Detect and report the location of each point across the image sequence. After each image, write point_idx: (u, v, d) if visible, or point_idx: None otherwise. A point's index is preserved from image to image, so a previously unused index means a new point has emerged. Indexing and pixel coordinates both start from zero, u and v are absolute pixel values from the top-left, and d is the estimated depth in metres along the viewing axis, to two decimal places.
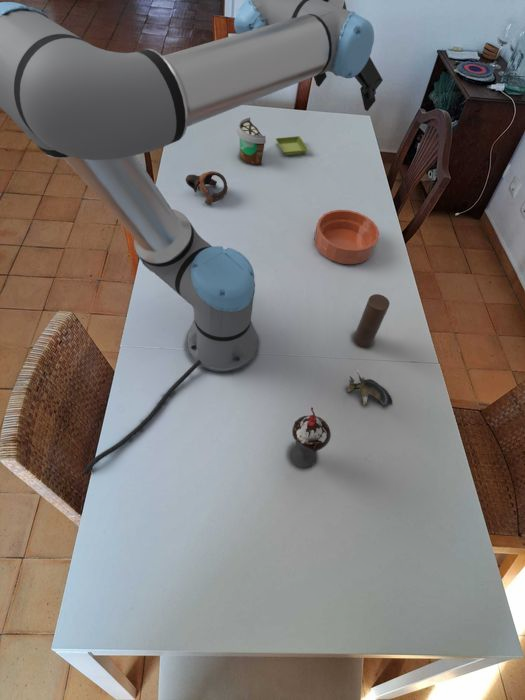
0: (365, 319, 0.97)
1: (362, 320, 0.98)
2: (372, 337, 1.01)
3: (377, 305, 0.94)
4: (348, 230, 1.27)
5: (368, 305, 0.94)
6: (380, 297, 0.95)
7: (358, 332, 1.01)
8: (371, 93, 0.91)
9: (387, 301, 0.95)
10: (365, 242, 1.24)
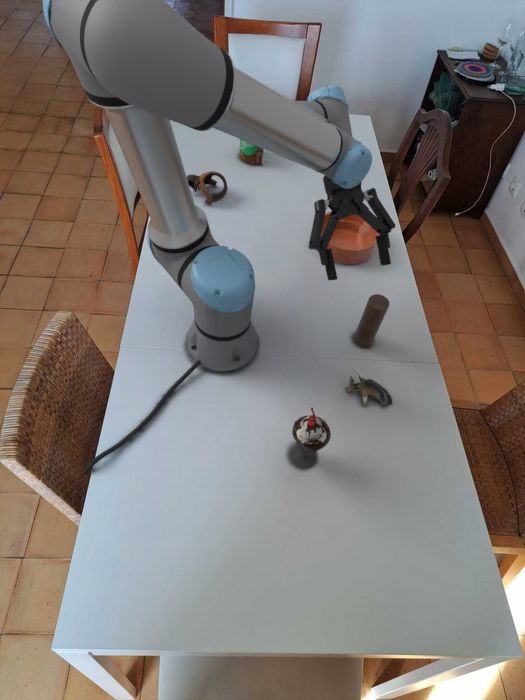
0: (365, 319, 0.97)
1: (362, 320, 0.98)
2: (372, 337, 1.01)
3: (377, 305, 0.94)
4: (348, 230, 1.27)
5: (368, 305, 0.94)
6: (380, 297, 0.95)
7: (358, 332, 1.01)
8: None
9: (387, 301, 0.95)
10: (365, 242, 1.24)
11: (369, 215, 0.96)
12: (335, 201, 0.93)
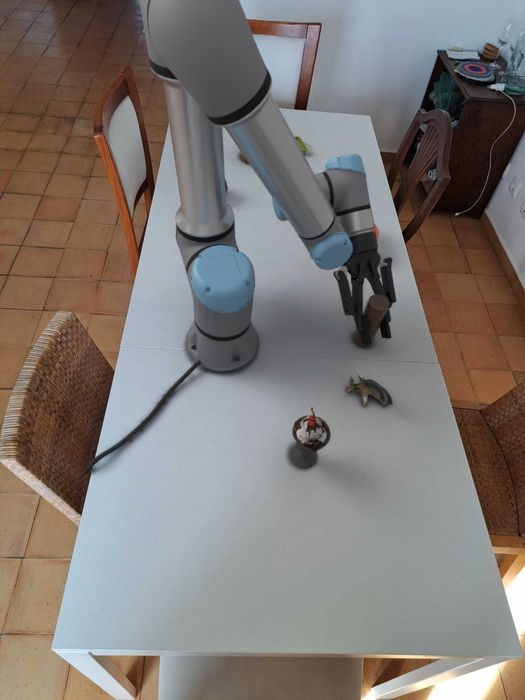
0: None
1: None
2: (372, 337, 1.01)
3: (377, 305, 0.94)
4: None
5: (368, 305, 0.94)
6: (380, 297, 0.95)
7: (358, 332, 1.01)
8: None
9: (387, 301, 0.95)
10: None
11: (378, 283, 0.96)
12: (352, 264, 0.94)
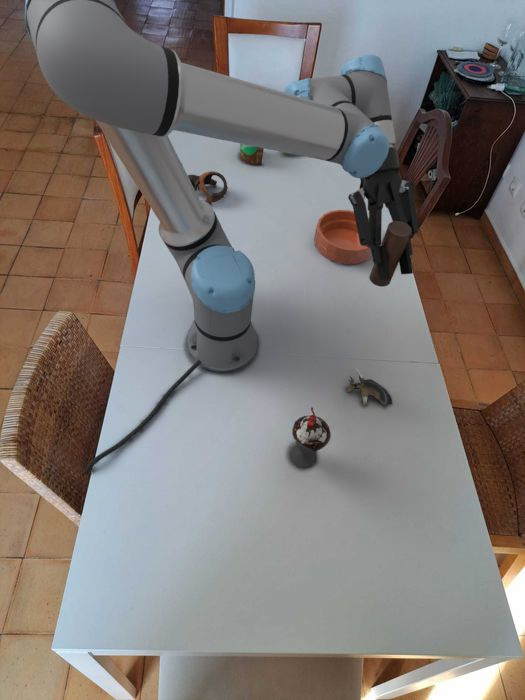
0: None
1: None
2: (391, 273, 0.90)
3: (397, 232, 0.83)
4: (348, 230, 1.27)
5: (387, 232, 0.84)
6: (401, 224, 0.84)
7: (375, 268, 0.91)
8: None
9: (409, 228, 0.84)
10: None
11: (398, 209, 0.86)
12: (369, 186, 0.83)
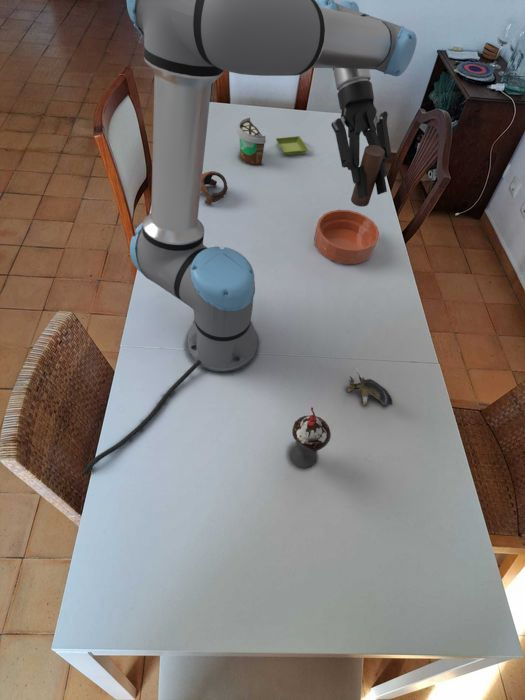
0: None
1: None
2: (368, 193, 1.06)
3: (372, 152, 0.98)
4: (348, 230, 1.27)
5: (364, 154, 0.99)
6: (376, 147, 1.00)
7: (355, 189, 1.06)
8: None
9: (382, 150, 0.99)
10: (365, 242, 1.24)
11: (374, 136, 1.01)
12: (349, 114, 0.99)
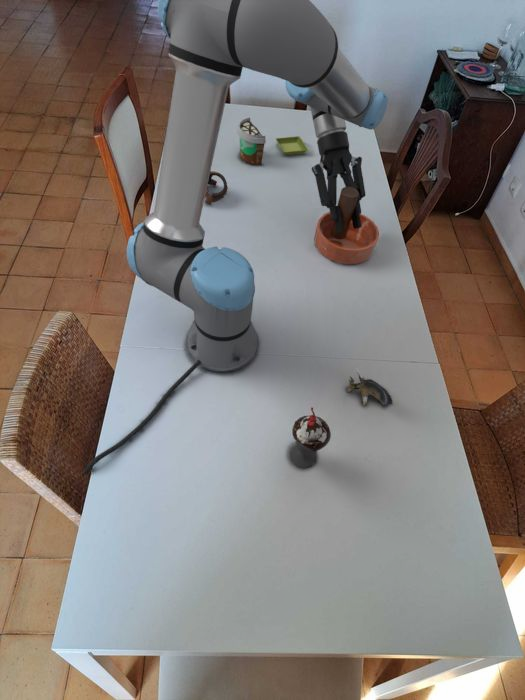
0: None
1: None
2: (345, 228, 1.18)
3: (348, 194, 1.11)
4: (348, 230, 1.27)
5: (341, 195, 1.12)
6: (351, 189, 1.13)
7: (334, 224, 1.19)
8: None
9: (357, 191, 1.12)
10: (365, 242, 1.24)
11: (349, 178, 1.14)
12: (327, 160, 1.11)
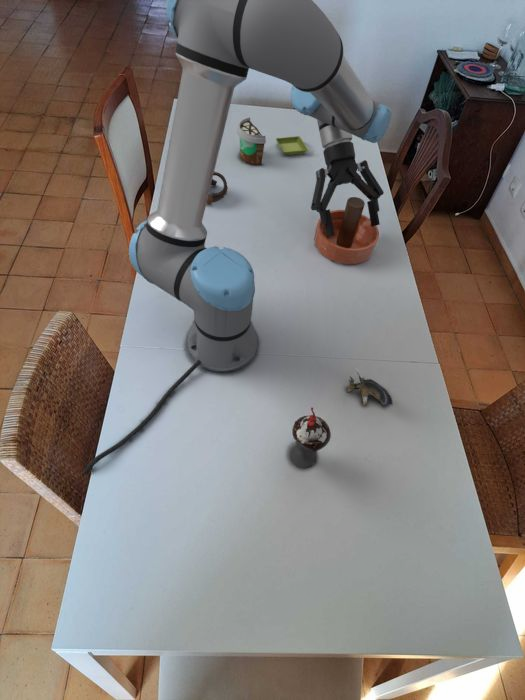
0: (345, 219, 1.16)
1: (342, 221, 1.17)
2: (351, 237, 1.19)
3: (354, 204, 1.12)
4: None
5: (347, 205, 1.13)
6: (357, 199, 1.14)
7: (339, 233, 1.20)
8: None
9: (363, 202, 1.13)
10: (365, 242, 1.24)
11: (361, 183, 1.15)
12: (333, 170, 1.12)
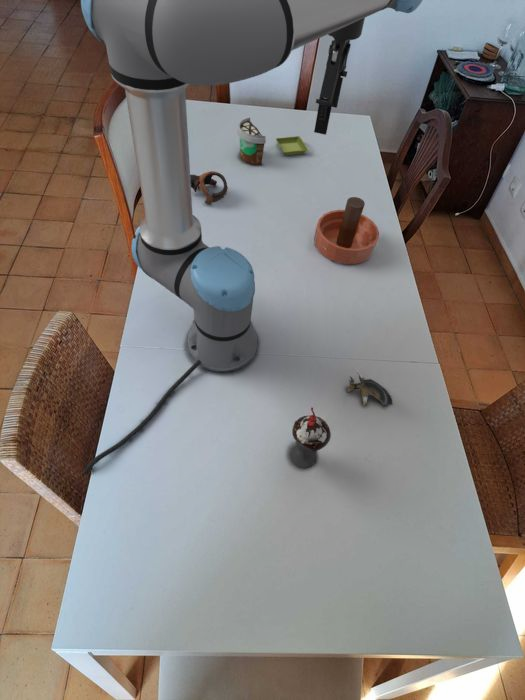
0: (345, 219, 1.16)
1: (342, 221, 1.17)
2: (351, 237, 1.19)
3: (354, 204, 1.12)
4: None
5: (347, 205, 1.13)
6: (357, 199, 1.14)
7: (339, 233, 1.20)
8: None
9: (363, 202, 1.13)
10: (365, 242, 1.24)
11: None
12: (343, 51, 0.92)
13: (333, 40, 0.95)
